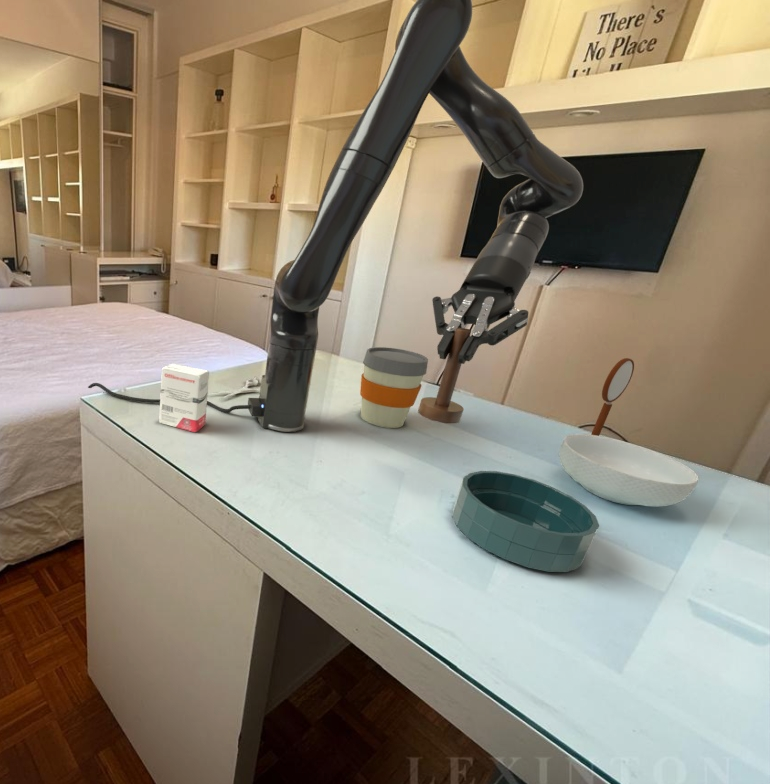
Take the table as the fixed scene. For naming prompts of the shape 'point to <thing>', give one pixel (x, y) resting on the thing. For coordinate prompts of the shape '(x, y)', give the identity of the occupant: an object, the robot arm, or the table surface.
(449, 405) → the wooden peg stand
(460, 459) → the table surface
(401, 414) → the reusable coffee cup
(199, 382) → the ink box
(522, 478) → the mixing bowl
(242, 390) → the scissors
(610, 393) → the magnifying glass
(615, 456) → the cereal bowl
